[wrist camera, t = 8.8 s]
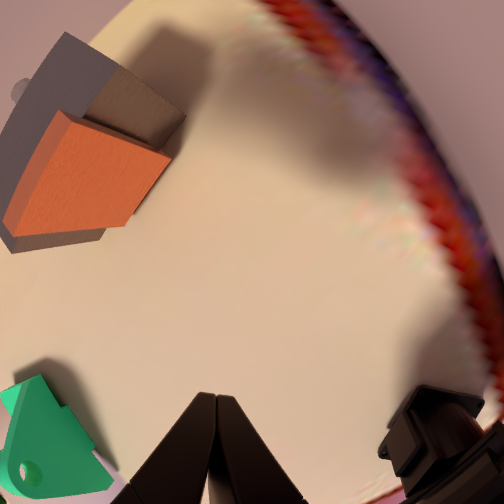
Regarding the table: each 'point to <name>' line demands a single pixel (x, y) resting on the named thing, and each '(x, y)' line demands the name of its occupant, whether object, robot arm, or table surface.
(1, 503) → the milk carton
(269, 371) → the table surface
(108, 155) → the lock pin
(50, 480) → the camera mount
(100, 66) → the block
